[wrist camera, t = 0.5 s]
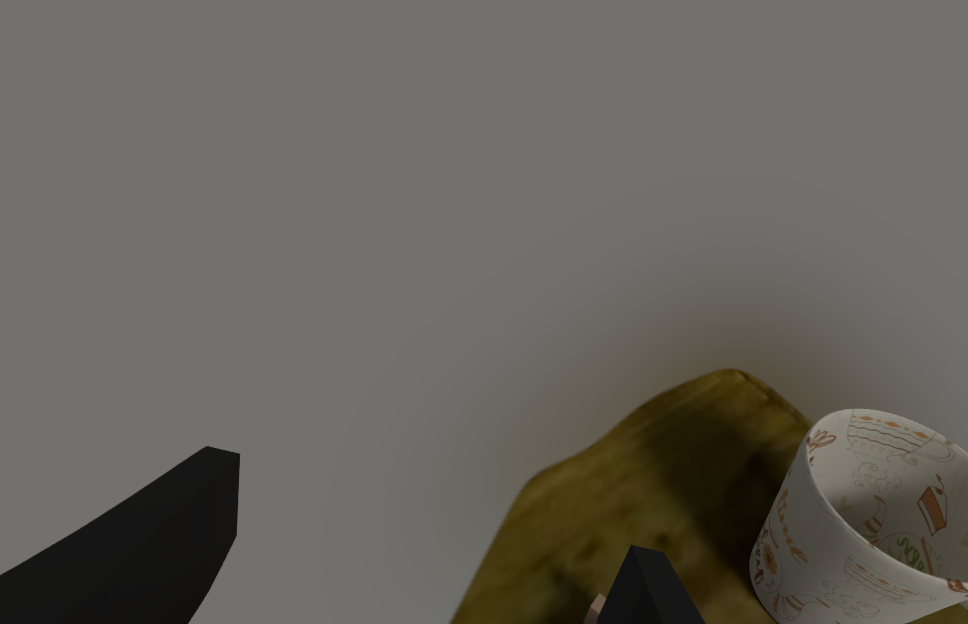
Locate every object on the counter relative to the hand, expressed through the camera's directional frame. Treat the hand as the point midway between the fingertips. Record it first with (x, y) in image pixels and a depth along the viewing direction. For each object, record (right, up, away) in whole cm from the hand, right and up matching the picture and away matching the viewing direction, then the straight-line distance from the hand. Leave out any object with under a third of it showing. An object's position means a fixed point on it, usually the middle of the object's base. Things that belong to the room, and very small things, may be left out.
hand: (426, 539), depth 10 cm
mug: (+19, -12, +19) cm, 30 cm away
